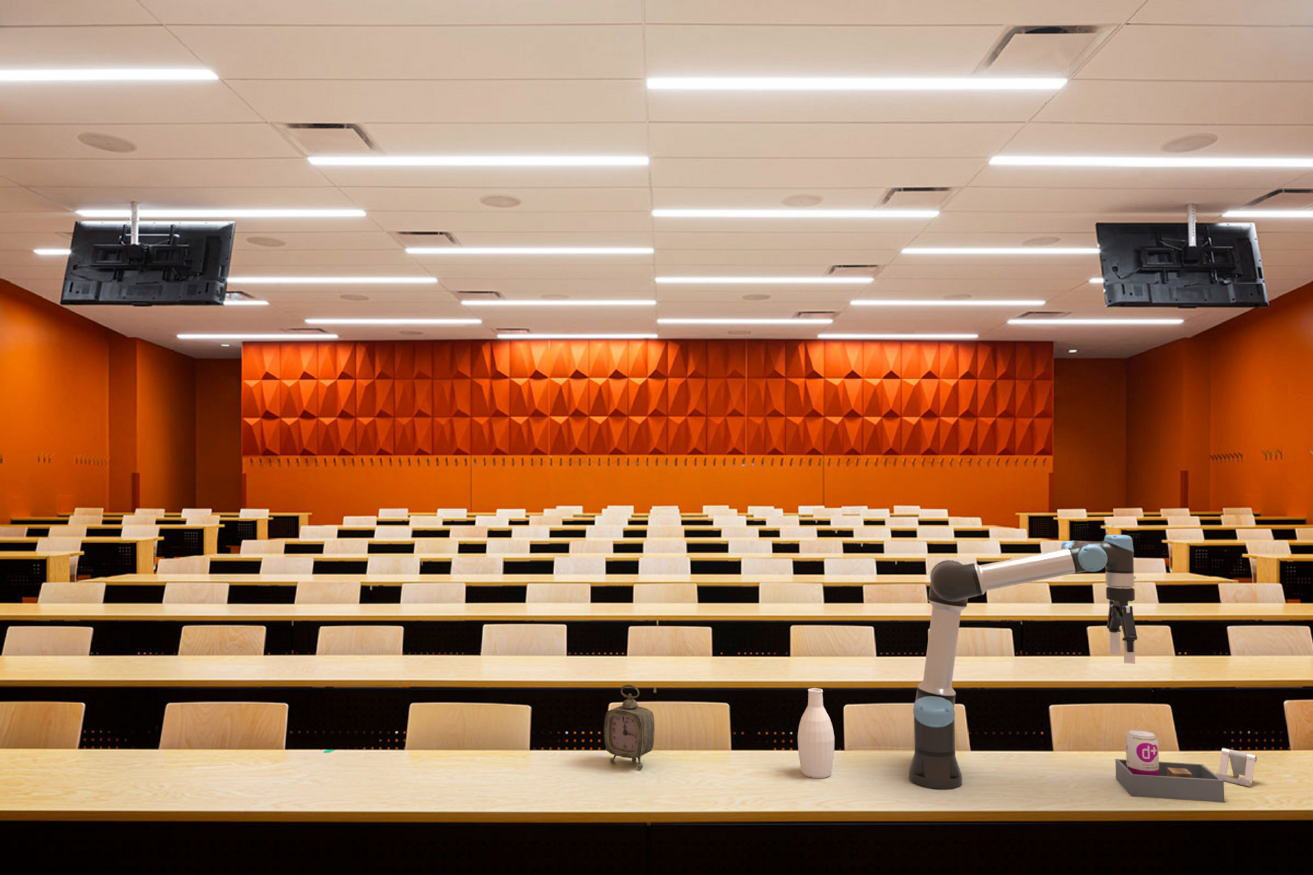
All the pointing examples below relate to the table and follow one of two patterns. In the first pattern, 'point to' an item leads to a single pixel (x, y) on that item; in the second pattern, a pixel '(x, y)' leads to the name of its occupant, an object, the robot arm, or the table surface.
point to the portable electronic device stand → (1237, 766)
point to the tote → (1173, 782)
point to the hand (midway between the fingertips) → (1122, 658)
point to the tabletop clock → (629, 730)
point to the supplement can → (1142, 753)
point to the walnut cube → (1178, 772)
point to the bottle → (816, 738)
